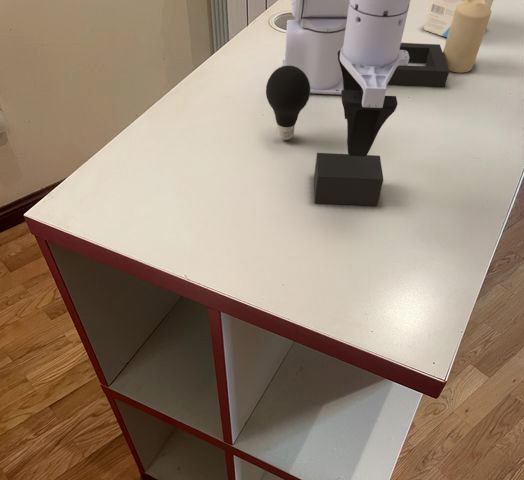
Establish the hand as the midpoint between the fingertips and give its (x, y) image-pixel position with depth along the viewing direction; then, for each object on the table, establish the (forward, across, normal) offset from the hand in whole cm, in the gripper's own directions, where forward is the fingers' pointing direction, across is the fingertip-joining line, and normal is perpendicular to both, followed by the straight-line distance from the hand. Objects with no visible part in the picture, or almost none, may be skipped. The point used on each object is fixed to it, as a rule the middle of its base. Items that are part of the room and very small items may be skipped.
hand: (355, 135), depth 60 cm
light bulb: (+8, +12, +8) cm, 16 cm away
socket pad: (+8, +34, -11) cm, 36 cm away
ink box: (+8, +51, -23) cm, 56 cm away
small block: (+8, 0, 0) cm, 8 cm away
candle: (+8, +37, -21) cm, 43 cm away
